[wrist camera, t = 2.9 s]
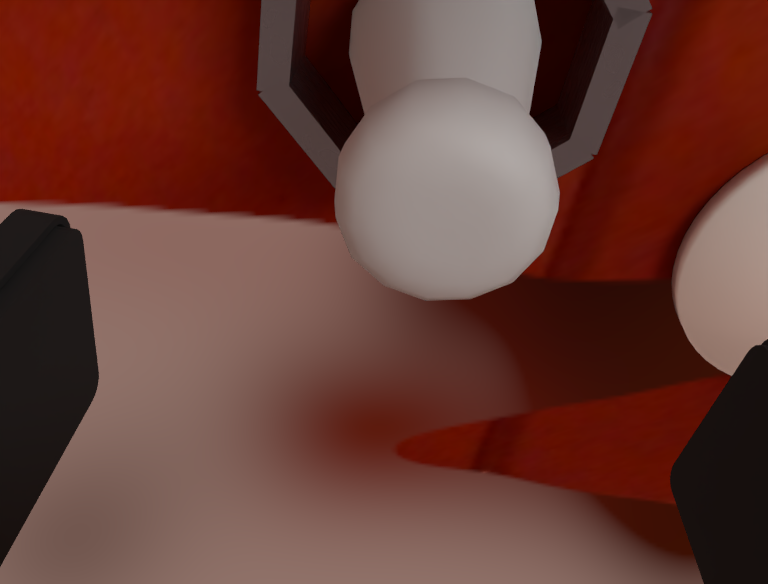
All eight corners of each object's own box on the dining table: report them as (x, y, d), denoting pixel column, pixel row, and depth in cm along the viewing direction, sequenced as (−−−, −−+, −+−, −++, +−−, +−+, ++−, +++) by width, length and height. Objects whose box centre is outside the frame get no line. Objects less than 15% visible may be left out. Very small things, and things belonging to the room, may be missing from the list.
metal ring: (294, -212, 19) (272, -212, 17) (673, -133, 19) (704, -122, 17) (269, 145, 26) (251, 182, 23) (552, 198, 26) (563, 240, 24)
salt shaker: (365, 112, 25) (307, 352, 14) (347, -64, 21) (251, 82, 11) (529, 103, 24) (594, 347, 14) (537, -80, 20) (631, 58, 10)
